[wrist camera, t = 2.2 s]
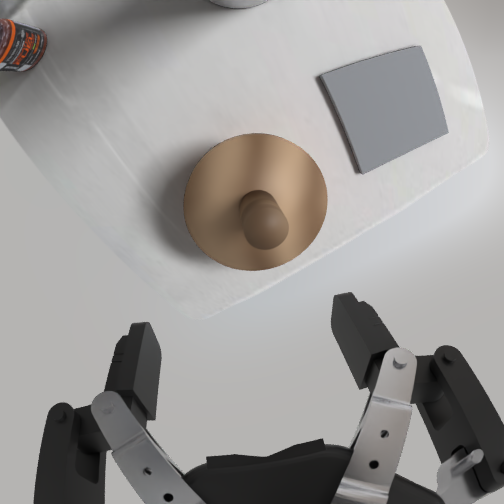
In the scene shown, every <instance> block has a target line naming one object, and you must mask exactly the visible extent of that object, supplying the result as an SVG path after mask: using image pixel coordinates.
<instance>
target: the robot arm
mask: <svg viewBox="0 0 504 504" xmlns="http://www.w3.org/2000/svg"><path fill="white" fill-rule="evenodd" d="M209 1H211V2H213V3H215V4H217V5H220V6H223V7H229V8H249V7H253V6H257V5H260V4H262V3H264V2H266V1H267V0H209ZM332 308H333V309H332V317H331V328H332V332H333V335H334V337H335V339H336V341H337V343H338V344H339V347H340V349H341V351H342V353H343V355H344V358H345V360H346V362H347V364H348V366H349V368H350V370H351V373H352V375H353V377H354V379H355V381H356V383H357V385H358V388H359V389H363V388H367V387H368V389H369V391H370V394H369V396H368V400H367V402H366V405H365V408H364V411H363V414H362V417H361V419H360V422H359V425H358V427H357V430H356V432H355V435H354V437H353V439H352V441H351V444H350V446H349V448H347V447H344V446H339V445H331V444H326V445H325V444H324V441H323V439H318V440H314V441H310V442H306V443H301V444H297V445H293V446H291V447H289V448H287V449H285V450H282V451H280V452H277V453H275V454H273V455H270V456H267V457H257V456H247V455H237V454H233V455H222V456H210V457H206V460H207V463H205V464H202V465H200V466H197V467H195V468H194V469H192V470H190V471H189V472H187V473H186V474H185V473H184V472H182V470H181V469H180V468H179V467H178V466H177V465H176V464H175V463H174V462H173V461H172V460H171V458H170V457H169V456H168V455H167V454H166V453H165V451H164V450H163V449H162V448H161V446H160V445H159V444H158V443H157V441H156V440H155V439H154V438H153V436H152V435H151V434H150V433H149V431H148V430H147V429H146V424H147V420H155V419H156V406H157V395H158V385H159V375H160V367H161V349H160V346H159V343H158V341H157V339H156V336H155V334H154V332H153V329H152V327H151V325H150V323H149V322H142V323H132V324H131V327H130V330H129V334H128V335H127V336H122V338H121V339H120V340H119V341H118V343H117V344H116V347H115V351H114V356H113V358H112V363H111V366H110V369H109V373H108V377H107V382H106V385H105V389H104V392H102V393H100V394H99V395H97V396H96V397H95V398H94V400H93V402H92V404H91V405H88V406H85V407H81V408H76V409H73V408H72V407H71V406H70V405H69V404H68V403H58V404H56V405H54V406H53V407H52V408H51V409H50V410H49V412H48V416H47V420H46V424H45V428H44V433H43V438H42V443H41V448H40V454H39V460H38V467H37V474H36V482H35V492H34V504H105V466H106V451H108V450H113V452H112V456H113V458H114V460H115V462H116V463H117V465H118V466H119V468H120V470H121V471H122V473H123V474H124V476H125V477H126V478H127V480H128V481H129V483H130V484H131V486H132V487H133V488H134V490H135V491H136V493H137V494H138V495H139V497H140V498H141V499H142V500H143V502H144V503H145V504H472V503H474V502H475V501H477V500H479V499H481V498H483V497H485V496H487V495H489V494H491V493H493V492H495V491H497V490H498V489H500V488H502V487H503V486H504V424H503V422H502V421H501V419H500V417H499V415H498V413H497V411H496V410H495V408H494V406H493V404H492V402H491V401H490V399H489V397H488V395H487V394H486V392H485V390H484V389H483V387H482V385H481V384H480V382H479V380H478V379H477V377H476V375H475V374H474V372H473V371H472V369H471V368H470V366H469V364H468V363H467V361H466V360H465V358H464V357H463V355H462V354H461V353H460V351H459V350H458V349H456V348H455V347H452V346H448V345H444V346H441V347H439V348H438V349H437V350H436V351H435V353H434V355H427V356H415V355H414V354H413V353H412V352H411V351H409V350H407V349H405V348H400V347H399V346H398V345H397V343H396V341H395V340H394V338H393V337H392V335H391V334H390V332H389V331H388V329H387V328H386V326H385V325H384V324H383V323H382V321H381V319H380V317H378V314H377V313H376V312H375V310H374V309H373V307H372V306H370V305H369V304H367V303H366V302H364V301H362V302H358V301H357V299H356V298H355V296H354V295H353V294H352V292H348V293H343V294H338V295H335V296H334V299H333V307H332ZM414 403H416V405H417V408H418V410H419V412H420V414H421V416H422V418H423V421H424V423H425V425H426V427H427V430H428V432H429V434H430V437H431V439H432V441H433V444H434V446H435V449H436V451H437V454H438V456H439V458H440V461H441V464H442V465H441V466H440V467H439V469H438V472H437V483H438V488H437V491H436V492H434V491H432V490H430V489H427V488H425V487H423V486H421V485H418V484H416V483H414V482H412V481H410V480H408V479H406V478H404V477H402V476H400V475H398V474H396V473H395V472H396V469H397V466H398V463H399V460H400V457H401V453H402V450H403V446H404V442H405V439H406V435H407V431H408V427H409V423H410V419H411V414H412V406H410V404H414Z"/></svg>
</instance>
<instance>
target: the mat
mask: <svg viewBox="0 0 504 504" xmlns="http://www.w3.org/2000/svg"><path fill="white" fill-rule="evenodd" d="M320 78H321V80H322V82H323V84H324V86H325V88H326V90H327V93H328V95H329V97H330V99H331V101H332V104H333V106H334V108H335V110H336V113H337V115H338V117H339V120H340V122H341V124H342V127H343V129H344V132H345V134H346V137H347V139H348V142H349V144H350V147H351V149H352V152H353V155H354V157H355V160H356V163H357V166H358V168H359V171H360V173H361V174H365V173H367V172H369V171H371V170H373V169H375V168H377V167H379V166H381V165H383V164H385V163H387V162H389V161H391V160H393V159H395V158H397V157H399V156H401V155H404V154H406V153H408V152H410V151H412V150H414V149H416V148H418V147H420V146H422V145H424V144H426V143H428V142H430V141H432V140H435V139H437V138H439V137H441V136H443V135H445V134H447V133H449V132H448V128H447V124H446V120H445V116H444V112H443V108H442V105H441V101H440V98H439V95H438V91H437V88H436V85H435V82H434V79H433V76H432V73H431V70H430V68H429V65H428V62H427V60H426V57H425V55H424V52H423V50H422V47H421V46H416V47H411V48H407V49H403V50H399V51H395V52H391V53H387V54H384V55H380V56H377V57H373V58H370V59H367V60H363V61H360V62H357V63H354V64H351V65H348V66H345V67H342V68H339V69H336V70H333V71H331V72H328V73H325V74H323V75H320Z"/></svg>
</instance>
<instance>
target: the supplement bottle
mask: <svg viewBox="0 0 504 504" xmlns="http://www.w3.org/2000/svg"><path fill="white" fill-rule="evenodd" d="M46 44H47V37H46V34H45V32H44V31H43V30H41V29H38V28H36V27H33V26H29V25H26V24H23V23H19V22H16V21H12V20H8V19H0V71H18V72H20V71H26V70H29V69H30V68H32V67H33V66H35V65H36V64H37V63H38V61H39V60H40V59H41V57H42V56H43V54H44V51H45V49H46Z"/></svg>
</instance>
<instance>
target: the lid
mask: <svg viewBox="0 0 504 504" xmlns="http://www.w3.org/2000/svg"><path fill="white" fill-rule="evenodd" d="M183 206H184V217H185V222H186V225H187V228H188V231H189V233H190V235H191V237H192V238H193V240H194V241H195V243H196V244H197V246H198V247H199V248H200V249H201V250H202V251H203V252H204V253H205V254H206V255H208V256H209V257H210V258H212V259H213V260H215V261H216V262H218V263H220V264H222V265H225V266H227V267H231V268H234V269H239V270H247V271H257V270H265V269H270V268H274V267H277V266H280V265H282V264H285V263H287V262H289V261H290V260H292V259H294V258H295V257H297V256H298V255H300V254H301V253H302V252H303V251H304V250H305V249H306V248H307V247H308V246H309V245H310V244H311V243H312V242H313V240H314V239H315V237H316V236H317V234H318V233H319V231H320V229H321V227H322V224H323V222H324V219H325V215H326V210H327V189H326V184H325V181H324V178H323V175H322V173H321V171H320V169H319V167H318V166H317V164H316V163H315V161H314V160H313V159H312V158H311V157H310V155H309V154H307V153H306V152H305V151H304V150H303V149H302V148H300V147H299V146H297V145H296V144H294V143H292V142H290V141H288V140H286V139H284V138H281V137H278V136H274V135H269V134H261V133H252V134H244V135H239V136H236V137H233V138H230V139H227V140H225V141H223V142H221V143H220V144H218V145H216V146H215V147H213V148H212V149H211V150H210V151H208V152H207V153H206V154H205V155H204V156H203V157H202V158H201V160H200V161H199V162H198V163H197V165H196V166H195V168H194V170H193V172H192V173H191V175H190V178H189V181H188V183H187V186H186V190H185V195H184V205H183Z"/></svg>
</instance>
